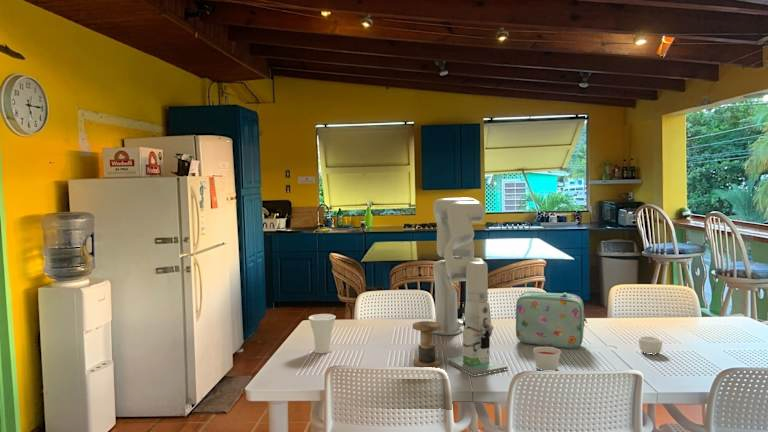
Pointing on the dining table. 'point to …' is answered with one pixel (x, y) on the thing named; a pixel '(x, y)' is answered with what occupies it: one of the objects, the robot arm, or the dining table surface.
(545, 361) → the candle
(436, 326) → the bobbin
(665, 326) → the dining table surface
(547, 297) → the lunch box
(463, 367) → the board
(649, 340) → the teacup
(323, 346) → the cup
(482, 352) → the ink box
